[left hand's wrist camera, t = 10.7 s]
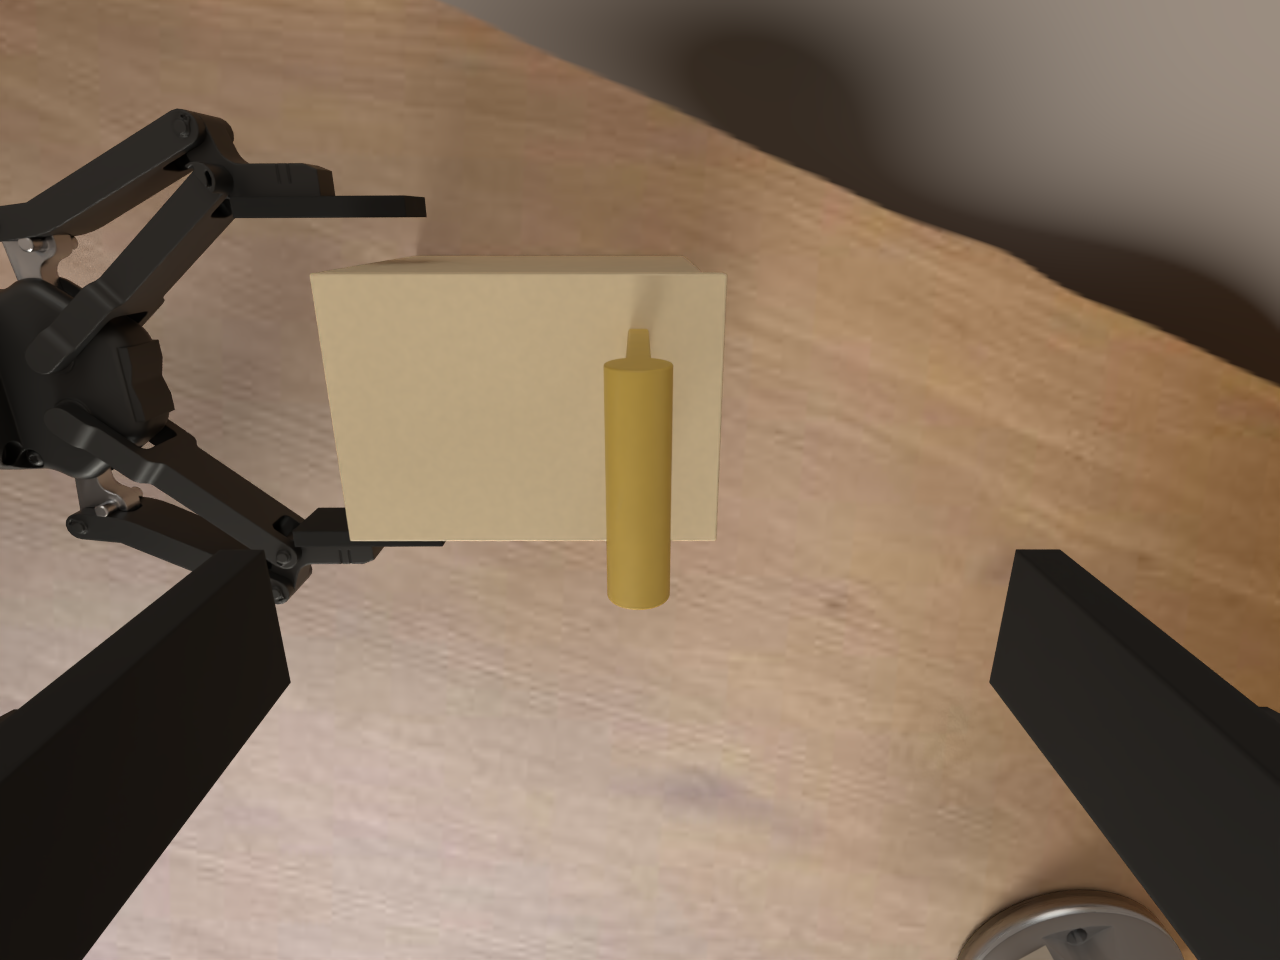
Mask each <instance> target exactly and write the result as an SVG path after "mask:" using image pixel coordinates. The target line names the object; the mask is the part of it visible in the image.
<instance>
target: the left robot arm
mask: <svg viewBox="0 0 1280 960" xmlns="http://www.w3.org/2000/svg"><path fill="white" fill-rule="evenodd" d="M290 683H291V682H290V677H289V672H288V667H287V662H286V657H285V652H284V647H283V642H282V637H281V632H280V627H279V622H278V617H277V612H276V607H275V602H274V597H273V592H272V587H271V582H270V577H269V572H268V567H267V562H266V557H265V552H264V550H219V551H218V552H216V553H215V554H214V555H213V556H211V557H210V558H209V559H208V560H206V561H205V562H204V563H203V564H201V565H200V566H199V567H197V568H196V569H195V570H194V571H192V572H191V573H190V574H189V575H187V576H186V577H185V578H184V579H182V580H181V581H180V582H178V583H177V584H176V585H175V586H173V587H172V588H171V589H170V590H168V591H167V592H166V593H165V594H163V595H162V596H161V597H160V598H158V599H157V600H156V601H154V602H153V603H152V604H151V605H149V606H148V607H147V608H146V609H144V610H143V611H142V612H141V613H139V614H138V615H137V616H136V617H134V618H133V619H132V620H130V621H129V622H128V623H127V624H125V625H124V626H123V627H122V628H120V629H119V630H118V631H117V632H115V633H114V634H113V635H111V636H110V637H109V638H108V639H106V640H105V641H104V642H103V643H101V644H100V645H99V646H98V647H96V648H95V649H94V650H93V651H91V652H90V653H89V654H87V655H86V656H85V657H84V658H82V659H81V660H80V661H79V662H77V663H76V664H75V665H74V666H72V667H71V668H70V669H69V670H67V671H66V672H65V673H63V674H62V675H61V676H60V677H58V678H57V679H56V680H55V681H53V682H52V683H51V684H50V685H48V686H47V687H46V688H45V689H43V690H42V691H41V692H39V693H38V694H37V695H36V696H34V697H33V698H32V699H31V700H29V701H28V702H27V703H26V704H24V705H23V706H22V707H20V708H19V709H14V710H12V711H10V712H8V713H6V714H4V715H2V716H0V960H82V959H83V958H84V957H85V955H86V954H87V953H88V951H89V950H90V949H91V947H92V946H93V945H94V943H95V942H96V941H97V939H98V938H99V937H100V935H101V934H102V933H103V931H104V930H105V929H106V927H107V926H108V925H109V923H110V922H111V921H112V919H113V918H114V917H115V916H116V914H117V913H118V912H119V910H120V909H121V908H122V906H123V905H124V904H125V902H126V901H127V900H128V898H129V897H130V896H131V894H132V893H133V892H134V890H135V889H136V888H137V886H138V885H139V884H140V882H141V881H142V880H143V878H144V877H145V876H146V874H147V873H148V872H149V870H150V869H151V868H152V866H153V865H154V864H155V862H156V861H157V860H158V858H159V857H160V856H161V854H162V853H163V852H164V850H165V849H166V848H167V846H168V845H169V844H170V842H171V841H172V840H173V838H174V837H175V836H176V834H177V833H178V832H179V830H180V829H181V828H182V826H183V825H184V824H185V822H186V821H187V820H188V818H189V817H190V816H191V814H192V813H193V812H194V810H195V809H196V808H197V806H198V805H199V804H200V802H201V801H202V800H203V798H204V797H205V796H206V794H207V793H208V792H209V790H210V789H211V788H212V786H213V785H214V784H215V782H216V781H217V780H218V778H219V777H220V776H221V774H222V773H223V772H224V770H225V769H226V768H227V766H228V765H229V764H230V762H231V761H232V760H233V758H234V757H235V756H236V754H237V753H238V752H239V750H240V749H241V748H242V746H243V745H244V744H245V742H246V741H247V740H248V738H249V737H250V736H251V734H252V733H253V732H254V730H255V729H256V728H257V726H258V725H259V724H260V722H261V721H262V720H263V719H264V717H265V716H266V715H267V713H268V712H269V711H270V709H271V708H272V707H273V705H274V704H275V703H276V701H277V700H278V699H279V697H280V696H281V695H282V693H283V692H284V691H285V689H286V688H287V687H288V685H289V684H290ZM989 683H990V684H991V685H992V687H993V688H994V689H995V691H996V692H997V693H998V695H999V696H1000V697H1001V699H1002V700H1003V701H1004V703H1005V704H1006V705H1007V707H1008V708H1009V709H1010V711H1011V712H1012V713H1013V715H1014V716H1015V717H1016V719H1017V720H1018V721H1019V723H1020V724H1021V725H1022V726H1023V728H1024V729H1025V730H1026V732H1027V733H1028V734H1029V736H1030V737H1031V738H1032V740H1033V741H1034V742H1035V744H1036V745H1037V746H1038V748H1039V749H1040V750H1041V752H1042V753H1043V754H1044V756H1045V757H1046V758H1047V760H1048V761H1049V762H1050V764H1051V765H1052V766H1053V768H1054V769H1055V770H1056V772H1057V773H1058V774H1059V776H1060V777H1061V778H1062V780H1063V781H1064V782H1065V784H1066V785H1067V786H1068V788H1069V789H1070V790H1071V792H1072V793H1073V794H1074V796H1075V797H1076V798H1077V800H1078V801H1079V802H1080V804H1081V805H1082V806H1083V808H1084V809H1085V810H1086V812H1087V813H1088V814H1089V816H1090V817H1091V818H1092V820H1093V821H1094V822H1095V824H1096V825H1097V826H1098V828H1099V829H1100V830H1101V832H1102V833H1103V834H1104V836H1105V837H1106V838H1107V840H1108V841H1109V842H1110V844H1111V845H1112V846H1113V848H1114V849H1115V850H1116V852H1117V853H1118V854H1119V856H1120V857H1121V858H1122V860H1123V861H1124V862H1125V864H1126V865H1127V866H1128V868H1129V869H1130V870H1131V872H1132V873H1133V874H1134V876H1135V877H1136V878H1137V880H1138V881H1139V882H1140V884H1141V885H1142V886H1143V888H1144V889H1145V890H1146V892H1147V893H1148V894H1149V896H1150V897H1151V898H1152V900H1153V901H1154V902H1155V904H1156V905H1157V906H1158V908H1159V909H1160V910H1161V912H1162V913H1163V914H1164V916H1165V917H1166V918H1167V919H1168V921H1169V922H1170V923H1171V925H1172V926H1173V927H1174V929H1175V930H1176V931H1177V933H1178V934H1179V935H1180V937H1181V938H1182V939H1183V941H1184V942H1185V943H1186V945H1187V946H1188V947H1189V949H1190V950H1191V951H1192V953H1193V954H1194V955H1195V957H1196V958H1197V959H1198V960H1280V713H1278V712H1276V711H1274V710H1272V709H1270V708H1268V707H1258V706H1257V705H1256V704H1254V703H1253V702H1252V701H1251V700H1249V699H1248V698H1247V697H1246V696H1244V695H1243V694H1242V693H1241V692H1239V691H1238V690H1237V689H1235V688H1234V687H1233V686H1232V685H1230V684H1229V683H1228V682H1227V681H1225V680H1224V679H1223V678H1222V677H1220V676H1219V675H1218V674H1217V673H1215V672H1214V671H1213V670H1211V669H1210V668H1209V667H1208V666H1206V665H1205V664H1204V663H1203V662H1201V661H1200V660H1199V659H1198V658H1196V657H1195V656H1194V655H1193V654H1191V653H1190V652H1189V651H1187V650H1186V649H1185V648H1184V647H1182V646H1181V645H1180V644H1179V643H1177V642H1176V641H1175V640H1174V639H1172V638H1171V637H1170V636H1169V635H1167V634H1166V633H1165V632H1163V631H1162V630H1161V629H1160V628H1158V627H1157V626H1156V625H1155V624H1153V623H1152V622H1151V621H1150V620H1148V619H1147V618H1146V617H1144V616H1143V615H1142V614H1141V613H1139V612H1138V611H1137V610H1136V609H1134V608H1133V607H1132V606H1131V605H1129V604H1128V603H1127V602H1126V601H1124V600H1123V599H1122V598H1120V597H1119V596H1118V595H1117V594H1115V593H1114V592H1113V591H1112V590H1110V589H1109V588H1108V587H1107V586H1105V585H1104V584H1103V583H1102V582H1100V581H1099V580H1098V579H1096V578H1095V577H1094V576H1093V575H1091V574H1090V573H1089V572H1088V571H1086V570H1085V569H1084V568H1083V567H1081V566H1080V565H1079V564H1077V563H1076V562H1075V561H1074V560H1072V559H1071V558H1070V557H1069V556H1067V555H1066V554H1065V553H1064V552H1062V551H1061V550H1016V552H1015V557H1014V562H1013V567H1012V572H1011V577H1010V582H1009V587H1008V592H1007V597H1006V602H1005V607H1004V612H1003V617H1002V622H1001V627H1000V632H999V637H998V642H997V647H996V652H995V657H994V662H993V667H992V672H991V677H990V682H989ZM958 960H1184V958H1183V956H1182V954H1181V951H1180V949H1179V948H1178V946H1177V944H1176V943H1175V941H1174V940H1173V939H1172V937H1171V936H1170V935H1169V933H1168V932H1167V931H1166V929H1165V928H1164V927H1163V925H1162V924H1161V923H1160V921H1159V920H1158V919H1157V917H1156V916H1155V915H1154V914H1153V913H1152V912H1151V911H1149V910H1148V909H1147V908H1146V907H1144V906H1143V905H1141V904H1139V903H1138V902H1136V901H1134V900H1131V899H1129V898H1127V897H1124V896H1121V895H1118V894H1114V893H1109V892H1103V891H1094V890H1070V891H1061V892H1055V893H1050V894H1045V895H1041V896H1038V897H1034V898H1031V899H1028V900H1026V901H1023V902H1020V903H1018V904H1016V905H1014V906H1012V907H1010V908H1008V909H1006V910H1004V911H1002V912H1001V913H999V914H997V915H996V916H994V917H993V918H991V919H990V920H989V921H987V922H986V923H985V924H984V925H983V926H982V927H980V928H979V929H978V930H977V931H976V932H975V933H974V934H973V935H972V937H971V938H970V939H969V940H968V942H967V943H966V945H965V946H964V948H963V949H962V951H961V953H960V955H959V957H958Z"/></svg>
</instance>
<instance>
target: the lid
mask: <svg viewBox="0 0 1280 960" xmlns="http://www.w3.org/2000/svg"><path fill="white" fill-rule="evenodd" d="M310 281H311V288H312V294H313V301H314V307H315V314H316V321H317V327H318V334H319V340H320V347H321V353H322V360H323V366H324V373H325V379H326V386H327V392H328V399H329V405H330V412H331V418H332V425H333V431H334V438H335V444H336V451H337V457H338V464H339V470H340V477H341V483H342V490H343V497H344V503H345V510H346V516H347V523H348V529H349V536H350V540H351V541H607V594H608V598H609V599H610V601H611V602H612V603H614V604H615V605H617V606H619V607H622V608H626V609H632V610H645V609H651V608H655V607H658V606H660V605H662V604H663V603H665V602H666V601H667V599H668V598H669V595H670V542H671V541H715V540H716V536H717V511H718V487H719V462H720V438H721V413H722V388H723V364H724V339H725V314H726V290H727V274H725V273H724V272H318V273H312V274H310Z"/></svg>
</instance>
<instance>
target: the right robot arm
mask: <svg viewBox="0 0 1280 960" xmlns="http://www.w3.org/2000/svg"><path fill="white" fill-rule="evenodd" d="M233 141H234V134H233V131H232V129H231V126H230V125H229V124H228V123H227V122H226V121H224V120H223V119H221V118H217V117H213V116H209V115H205V114H201V113H196V112H192V111H188V110H184V109H174V110H171V111H169V112H168V113H166V114H165V115H163V116H162V117H160V118H158V119H157V120H155V121H154V122H152V123H151V124H149V125H147V126H146V127H144V128H143V129H141V130H140V131H138V132H136V133H135V134H133V135H132V136H130V137H129V138H127V139H126V140H124V141H122V142H121V143H119V144H118V145H116V146H115V147H113V148H111V149H110V150H108V151H107V152H105V153H104V154H102V155H100V156H99V157H97V158H96V159H94V160H93V161H91V162H89V163H88V164H86V165H85V166H83V167H82V168H80V169H78V170H77V171H75V172H74V173H72V174H71V175H69V176H67V177H66V178H64V179H63V180H61V181H60V182H58V183H56V184H55V185H53V186H52V187H50V188H49V189H47V190H45V191H44V192H42V193H41V194H39V195H38V196H36V197H34V198H33V199H31V200H30V201H28V202H27V203H20V204H13V205H5V206H0V242H2V243H3V245H4V248H5V250H6V253H7V255H8V258H9V260H10V263H11V265H12V267H13V270H14V272H15V275H16V277H17V280H18V281H16V282H15V283H13V284H12V285H11V286H9V287H8V288H6V289H0V469H39V468H48V469H53V470H56V471H59V472H62V473H64V474H66V475H68V476H71V477H74V478H75V481H76V487H77V493H78V498H79V504H80V511H78V512H77V513H75V514H73V515H71V516H69V517H68V518H67V520H66V527H67V529H68V531H69V532H70V533H71V534H72V535H73V536H75V537H76V538H80V539H86V540H97V541H107V542H117V543H123V544H125V545H128V546H130V547H133V548H135V549H138V550H140V551H143V552H145V553H148V554H150V555H153V556H155V557H158V558H160V559H163V560H165V561H168V562H170V563H173V564H175V565H178V566H180V567H183V568H185V569H188V570H190V571H194V570H195V569H196V568H197V567H199V566H200V565H201V564H203V563H204V562H205V561H206V560H208V559H209V558H210V557H211V556H213V555H214V554H215V553H216V552H218V551H219V550H264V552H265V557H266V562H267V567H268V572H269V577H270V582H271V587H272V592H273V597H274V602H275V604H283V603H285V602H287V600H288V599H289V598H290V597H291V596H292V595H293V594H294V593H295V592H296V591H297V590H298V588H299V587H300V586H301V585H302V584H303V583H304V582H305V581H306V580H307V579H308V578H309V576H310V575H311V574H312V567H311V564H341V563H343V564H350V563H352V564H364V563H367V562H369V561H372V560H374V559H375V558H376V557H377V555H378V554H379V553H380V551H381V550H382V549H383V548H384V547H395V546H443V545H444V543H445V542H446V541H351V540H350V536H349V529H348V523H347V516H346V510H345V508H318V509H316V510H315V511H314V512H313V513H312V514H311V515H310V516H309V517H308V518H306V519H303V518H302V517H300V516H299V515H297V514H296V513H294V512H293V511H291V510H290V509H288V508H287V507H286V506H284V505H283V504H281V503H280V502H278V501H277V500H275V499H274V498H272V497H271V496H269V495H268V494H266V493H265V492H263V491H262V490H261V489H259V488H258V487H256V486H255V485H253V484H252V483H250V482H249V481H247V480H246V479H244V478H243V477H241V476H240V475H238V474H237V473H235V472H234V471H233V470H231V469H230V468H228V467H227V466H225V465H224V464H222V463H221V462H219V461H218V460H216V459H215V458H213V457H212V456H210V455H209V454H208V453H206V452H205V451H203V450H202V449H200V448H199V447H198V446H197V441H196V439H195V438H194V437H193V436H192V435H191V434H189V433H188V432H186V431H185V430H183V429H182V428H180V427H179V426H177V425H176V424H175V423H173V422H172V421H170V420H169V419H168V417H169V412H170V411H173V410H175V408H174V404H173V400H172V395H171V392H170V390H169V388H168V386H167V384H166V382H165V380H164V378H163V376H162V358H163V357H162V353H161V349H160V344H159V340H152V339H151V337H150V335H149V334H148V332H147V331H146V330H145V329H144V328H143V327H142V326H143V325H144V324H145V323H146V321H147V320H148V319H149V318H150V317H151V316H152V315H153V314H154V313H155V312H156V311H157V309H158V308H159V307H160V306H161V305H162V304H163V302H164V298H163V297H164V295H165V294H166V293H167V292H168V291H169V290H170V289H171V287H172V286H173V285H174V284H175V283H176V282H177V281H178V280H179V279H180V278H181V277H182V275H183V274H184V273H185V272H186V271H187V270H188V269H189V268H190V267H191V266H192V264H193V263H194V262H195V261H196V260H197V259H198V258H199V257H200V256H201V255H202V254H203V252H204V251H205V250H206V249H207V248H208V247H209V246H210V245H211V244H212V243H213V242H214V240H215V239H216V238H217V237H218V236H219V235H220V234H221V233H222V232H223V231H224V229H225V228H226V227H227V226H228V225H229V224H230V223H231V222H232V221H233V220H234V219H235V218H347V217H426V207H425V197H415V196H335V191H334V184H333V177H332V171H330V170H327V169H325V168H322V167H320V166H316V165H310V164H304V163H288V164H287V163H277V164H275V163H270V164H249V163H248V162H246V161H245V160H244V159H243V158H242V157H241V156H240V155H239V153H238V152H237V150H236V148H235V146H234V144H233ZM192 171H193V172H192ZM190 172H192V173H191V174H190V175H189V177H188V178H187V179H186V180H185V181H184V182H183V183H182V185H181V186H180V187H179V188H178V189H177V190H176V191H175V193H174V194H173V195H172V196H171V197H170V198H169V199H168V201H167V202H166V203H165V204H164V205H163V206H162V207H161V209H160V210H159V211H158V212H157V213H156V214H155V215H154V217H153V218H152V219H151V220H150V221H149V222H148V223H147V225H146V226H145V227H144V228H143V229H142V230H141V231H140V232H139V234H138V235H137V236H136V237H135V238H134V239H133V240H132V242H131V243H130V244H129V245H128V246H127V247H126V248H125V250H124V251H123V252H122V253H121V254H120V255H119V256H118V258H117V259H116V260H115V261H114V262H113V263H112V264H111V266H110V267H109V268H108V269H107V270H106V271H105V272H104V274H103V275H102V276H101V277H100V278H99V279H97V280H96V281H94V282H92V283H90V284H88V285H86V286H85V287H84V288H81V287H79V286H78V285H76V284H75V283H73V282H71V281H69V280H67V279H65V278H62V277H59V276H58V272H57V266H58V263H59V262H60V261H61V260H62V259H64V258H66V257H68V256H69V255H70V254H71V253H72V250H73V249H76V248H77V246H78V241H77V239H76V238H75V237H74V236H78V235H83V234H87V233H89V232H92V231H95V230H97V229H99V228H101V227H103V226H104V225H106V224H108V223H109V222H111V221H112V220H114V219H116V218H117V217H119V216H121V215H122V214H124V213H125V212H127V211H129V210H130V209H132V208H134V207H135V206H137V205H138V204H140V203H142V202H143V201H145V200H146V199H148V198H150V197H151V196H153V195H155V194H156V193H158V192H159V191H161V190H163V189H164V188H166V187H168V186H169V185H171V184H172V183H174V182H176V181H177V180H179V179H181V178H182V177H184V176H185V175H187V174H189V173H190ZM148 441H149V442H150V443H152V444H153V445H155V446H154V447H152V448H150V449H144V448H141V447H142V446H143V445H145V444H146V443H147V442H148ZM113 469H115V470H117V471H118V472H120V473H121V474H123V475H124V476H126V477H128V478H129V479H131V480H133V481H135V482H138V483H148V484H152V485H154V486H155V487H157V488H158V489H160V490H161V491H163V492H164V493H166V494H167V495H169V496H170V497H172V498H174V499H175V500H177V501H178V502H180V503H181V504H183V505H184V506H186V507H187V508H189V509H190V510H192V511H193V512H195V513H196V514H194V513H192V512H189V511H187V510H185V509H182V508H180V507H177V506H175V505H172V504H170V503H167V502H164V501H161V500H157V499H153V498H147V497H142V496H143V492H142V490H141V489H140V488H138V487H132V488H130V487H127V486H124V485H122V484H120V483H118V482H117V481H116V480H115V478H114V477H113V474H112V470H113ZM197 514H198V515H197Z"/></svg>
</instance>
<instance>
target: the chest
mask: <svg viewBox="0 0 1280 960" xmlns="http://www.w3.org/2000/svg"><path fill="white" fill-rule="evenodd" d="M323 272H702V271H700V270H699V269H698V268H697V267H696V266H695V265H694V264H692V263H691V262H690V261H689V260H688V259H687V258H685V257H684V256H411V257H405V258H399V259H393V260H387V261H382V262H376V263H370V264H364V265H358V266H352V267H347V268H341V269H335V270H329V271H323Z"/></svg>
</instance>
